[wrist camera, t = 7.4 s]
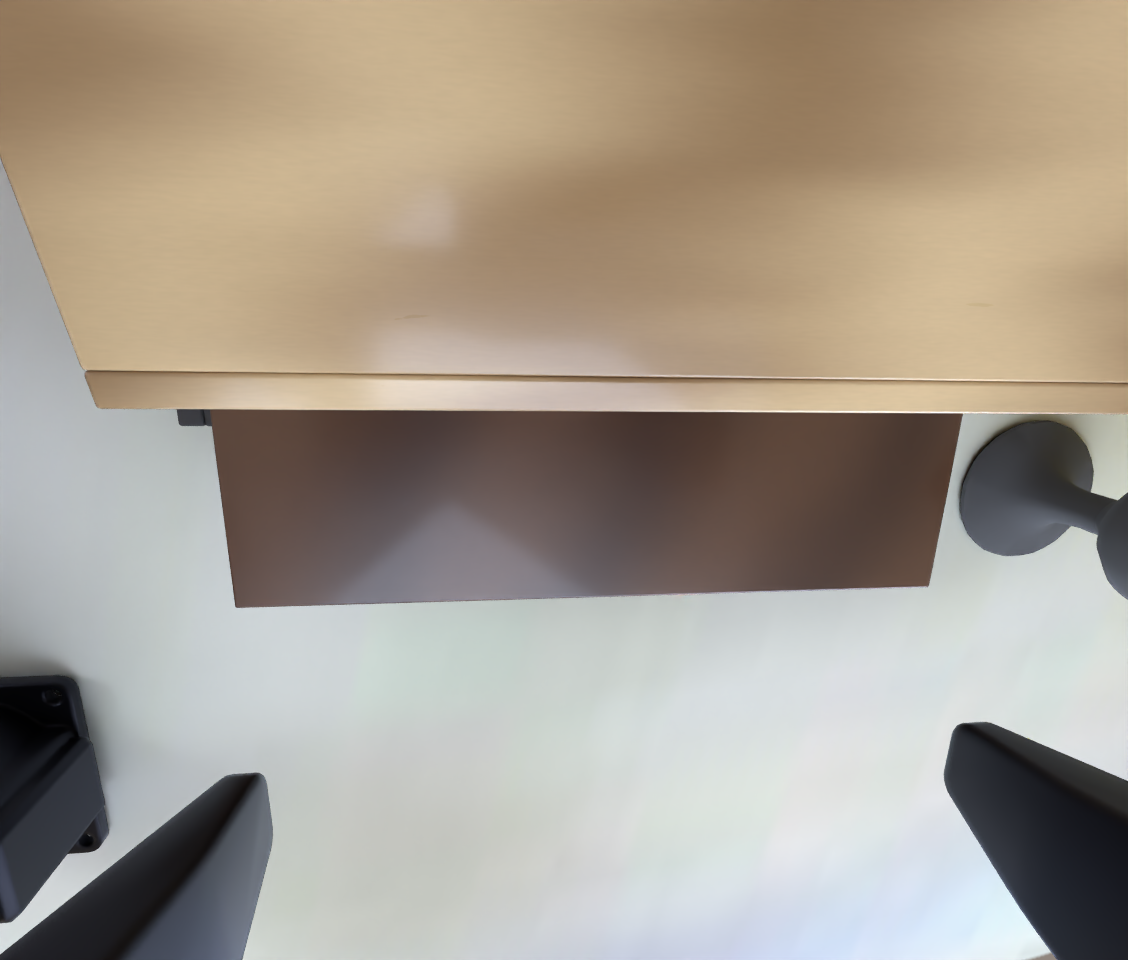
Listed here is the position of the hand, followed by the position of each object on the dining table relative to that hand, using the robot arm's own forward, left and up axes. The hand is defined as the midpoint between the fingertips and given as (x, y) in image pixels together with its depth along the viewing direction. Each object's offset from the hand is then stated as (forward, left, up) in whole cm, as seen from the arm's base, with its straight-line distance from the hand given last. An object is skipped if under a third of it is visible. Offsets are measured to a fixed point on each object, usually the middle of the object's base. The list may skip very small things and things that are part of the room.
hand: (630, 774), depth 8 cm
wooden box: (+1, +5, -4) cm, 7 cm away
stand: (+1, +3, -13) cm, 13 cm away
